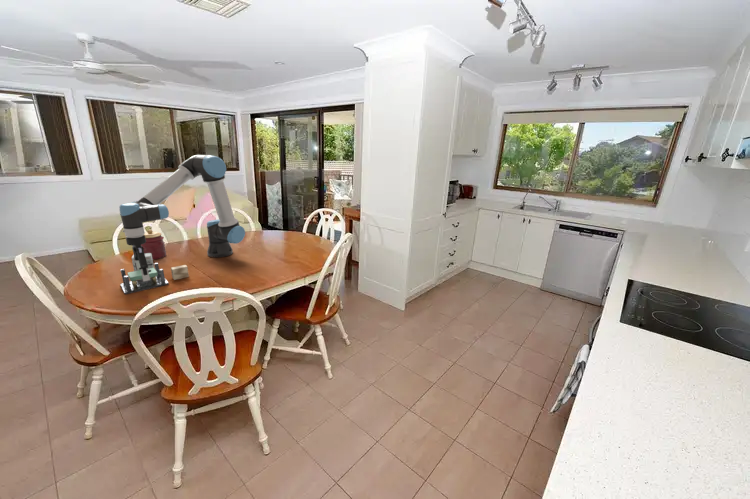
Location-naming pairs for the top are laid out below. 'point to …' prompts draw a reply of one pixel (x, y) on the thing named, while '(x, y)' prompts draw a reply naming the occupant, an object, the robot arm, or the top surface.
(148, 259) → the ink box
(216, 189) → the robot arm
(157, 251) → the canister
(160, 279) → the chassis
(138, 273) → the board
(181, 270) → the block
